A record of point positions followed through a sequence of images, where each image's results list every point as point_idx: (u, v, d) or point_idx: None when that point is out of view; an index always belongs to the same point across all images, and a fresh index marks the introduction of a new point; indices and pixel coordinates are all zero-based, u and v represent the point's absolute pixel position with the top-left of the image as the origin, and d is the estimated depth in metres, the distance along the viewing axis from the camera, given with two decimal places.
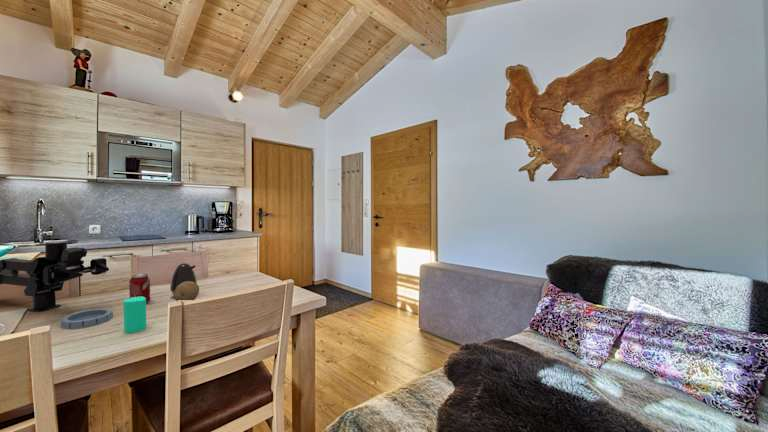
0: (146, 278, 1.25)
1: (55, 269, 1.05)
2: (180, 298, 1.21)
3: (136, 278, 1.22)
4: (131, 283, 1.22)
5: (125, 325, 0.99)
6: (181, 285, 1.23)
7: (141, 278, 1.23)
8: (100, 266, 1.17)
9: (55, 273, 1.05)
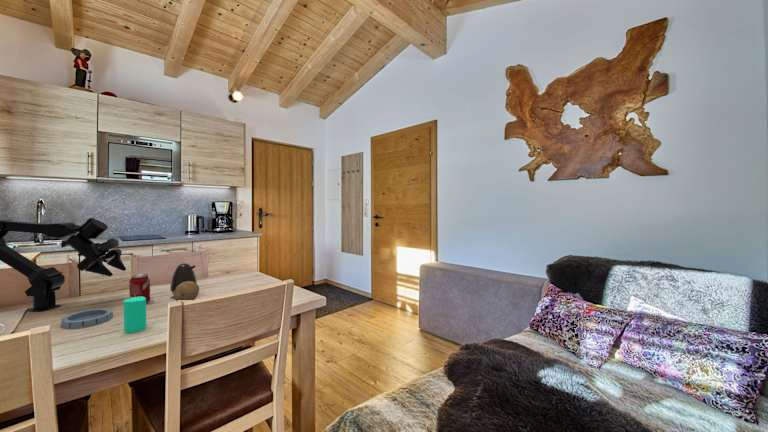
0: (146, 278, 1.25)
1: (97, 262, 1.14)
2: (180, 298, 1.21)
3: (136, 278, 1.22)
4: (131, 283, 1.22)
5: (125, 325, 0.99)
6: (181, 285, 1.23)
7: (141, 278, 1.23)
8: (118, 262, 1.27)
9: (93, 265, 1.14)
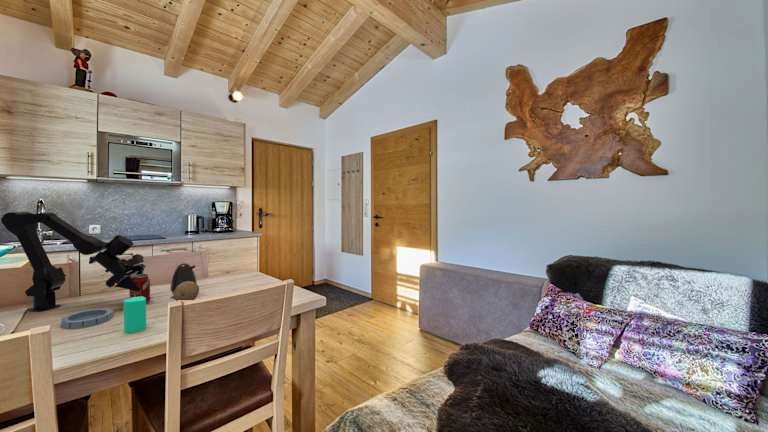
0: (146, 278, 1.25)
1: (126, 278, 1.18)
2: (180, 298, 1.21)
3: (136, 278, 1.22)
4: None
5: (125, 325, 0.99)
6: (181, 285, 1.23)
7: (141, 278, 1.23)
8: None
9: (122, 281, 1.18)
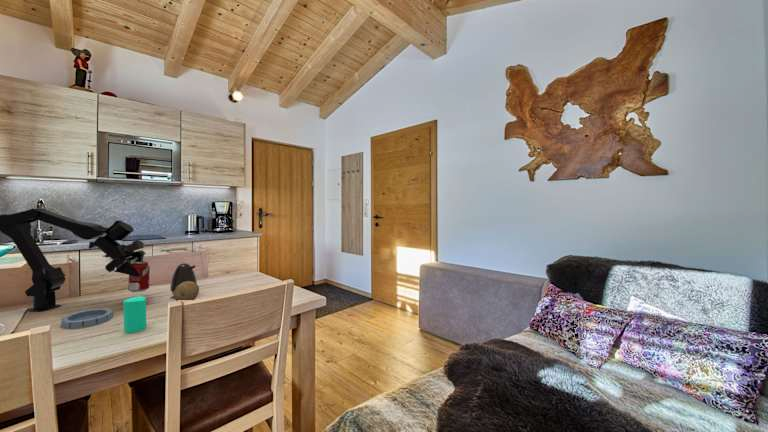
0: (146, 264, 1.25)
1: (126, 263, 1.18)
2: (180, 298, 1.21)
3: (136, 264, 1.22)
4: None
5: (125, 325, 0.99)
6: (181, 285, 1.23)
7: (141, 264, 1.23)
8: None
9: (122, 265, 1.17)
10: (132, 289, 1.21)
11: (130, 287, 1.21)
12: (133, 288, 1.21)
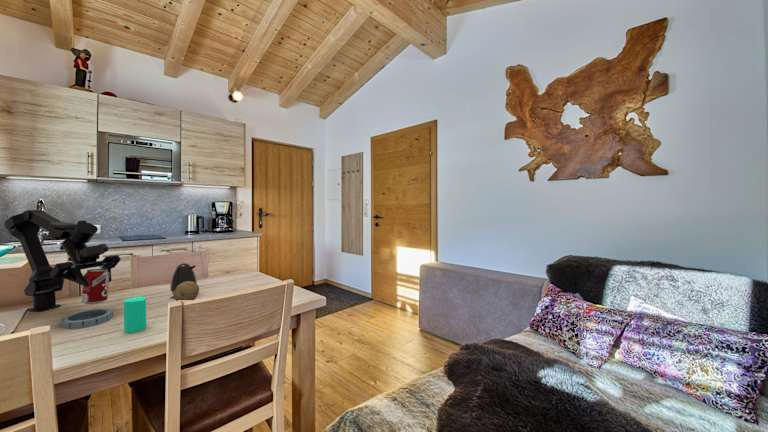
0: (99, 273, 1.07)
1: (70, 270, 1.02)
2: (180, 298, 1.21)
3: (88, 272, 1.06)
4: (84, 277, 1.06)
5: (125, 325, 0.99)
6: (181, 285, 1.23)
7: (93, 272, 1.06)
8: None
9: (67, 273, 1.03)
10: (82, 300, 1.05)
11: (82, 298, 1.06)
12: (82, 300, 1.05)
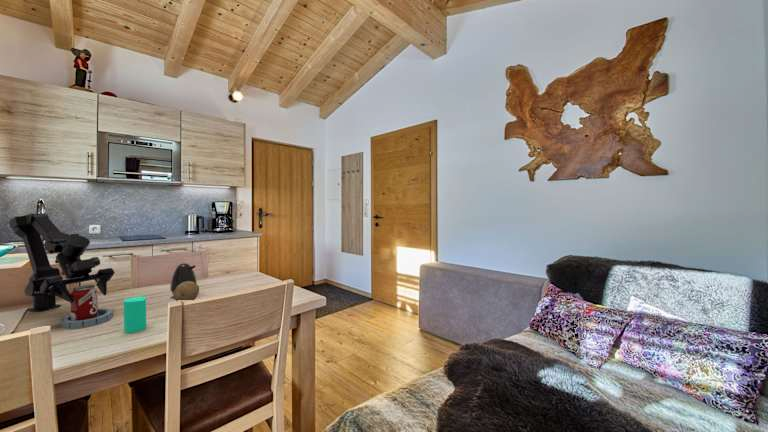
0: (85, 292, 1.04)
1: (54, 286, 0.99)
2: (180, 298, 1.21)
3: (74, 290, 1.03)
4: None
5: (125, 325, 0.99)
6: (181, 285, 1.23)
7: (78, 291, 1.03)
8: (102, 285, 1.11)
9: (52, 288, 1.00)
10: (71, 319, 1.03)
11: (71, 316, 1.04)
12: (71, 319, 1.03)
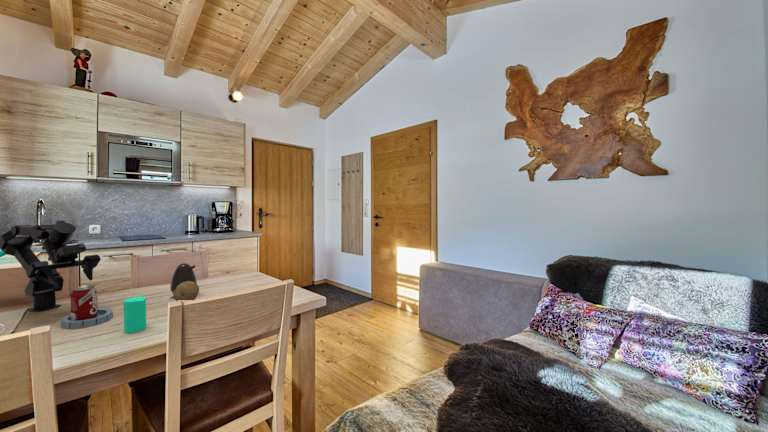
0: (85, 292, 1.04)
1: (40, 269, 1.02)
2: (179, 298, 1.21)
3: (74, 290, 1.03)
4: None
5: (125, 325, 0.99)
6: (181, 285, 1.23)
7: (78, 291, 1.03)
8: (88, 270, 1.14)
9: (38, 272, 1.03)
10: (71, 319, 1.03)
11: (71, 316, 1.04)
12: (71, 319, 1.03)
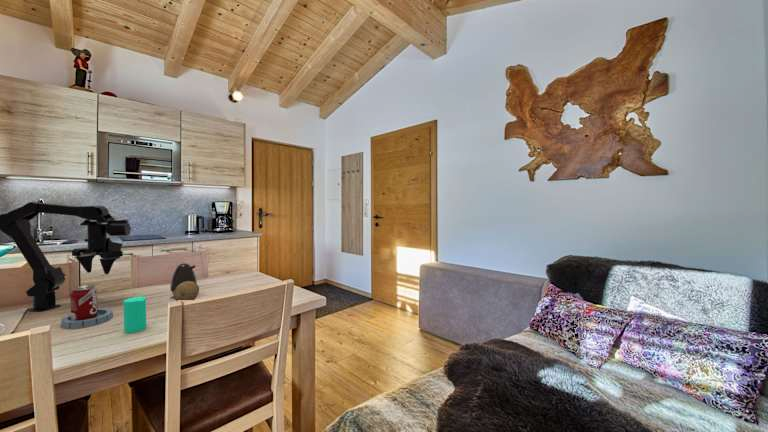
0: (85, 292, 1.04)
1: None
2: (180, 298, 1.21)
3: (74, 290, 1.03)
4: None
5: (125, 325, 0.99)
6: (181, 285, 1.23)
7: (78, 291, 1.03)
8: (90, 262, 1.24)
9: None
10: (71, 319, 1.03)
11: (71, 316, 1.04)
12: (71, 319, 1.03)
